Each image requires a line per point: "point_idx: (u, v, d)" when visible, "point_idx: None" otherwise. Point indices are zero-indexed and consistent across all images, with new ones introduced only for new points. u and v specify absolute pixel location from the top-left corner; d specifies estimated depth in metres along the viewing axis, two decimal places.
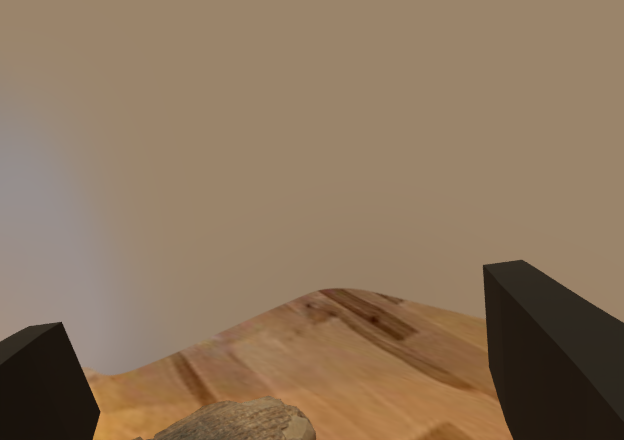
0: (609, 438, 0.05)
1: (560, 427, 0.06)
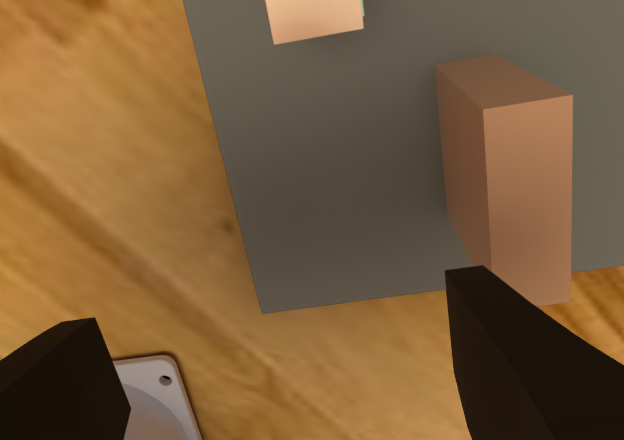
0: None
1: (506, 432, 0.06)
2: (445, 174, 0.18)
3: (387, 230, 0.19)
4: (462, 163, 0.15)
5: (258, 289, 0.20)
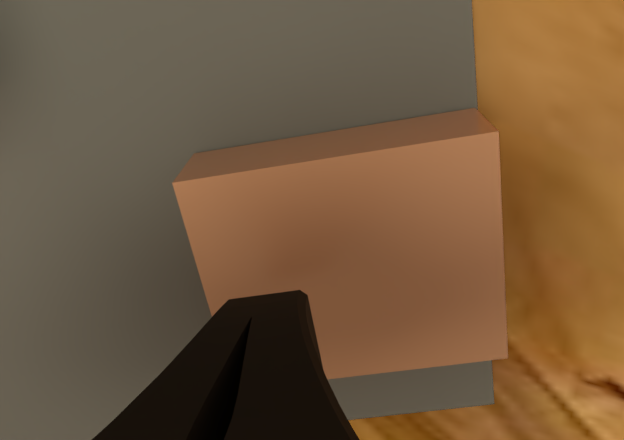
0: None
1: None
2: None
3: (103, 368, 0.15)
4: (365, 255, 0.11)
5: None
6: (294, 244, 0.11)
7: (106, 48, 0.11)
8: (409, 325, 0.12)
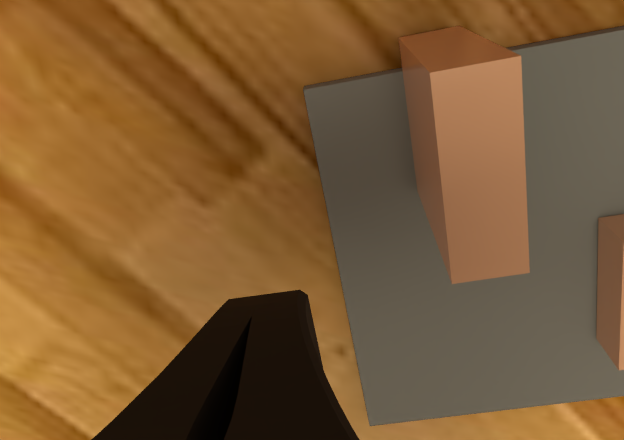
0: None
1: None
2: None
3: (489, 358, 0.21)
4: None
5: (368, 406, 0.23)
6: None
7: (560, 155, 0.18)
8: None
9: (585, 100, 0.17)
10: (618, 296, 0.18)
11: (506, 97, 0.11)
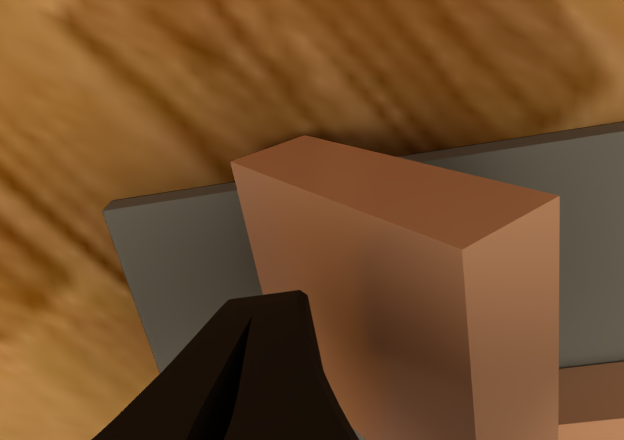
0: None
1: None
2: None
3: None
4: None
5: None
6: None
7: None
8: None
9: None
10: None
11: (543, 258, 0.07)
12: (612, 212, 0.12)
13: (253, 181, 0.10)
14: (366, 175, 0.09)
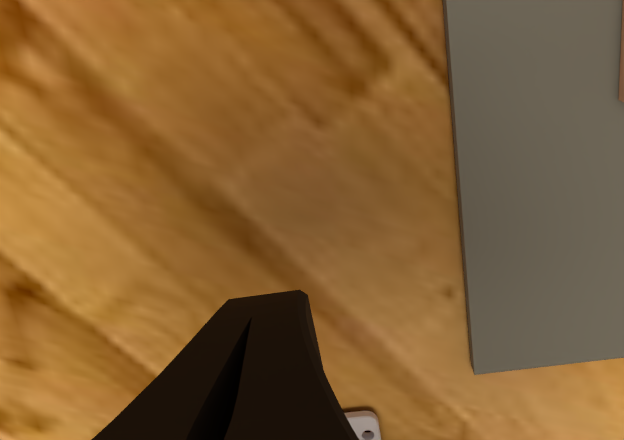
0: None
1: None
2: None
3: (611, 299, 0.20)
4: None
5: (475, 352, 0.21)
6: None
7: None
8: None
9: None
10: None
11: None
12: None
13: None
14: None
